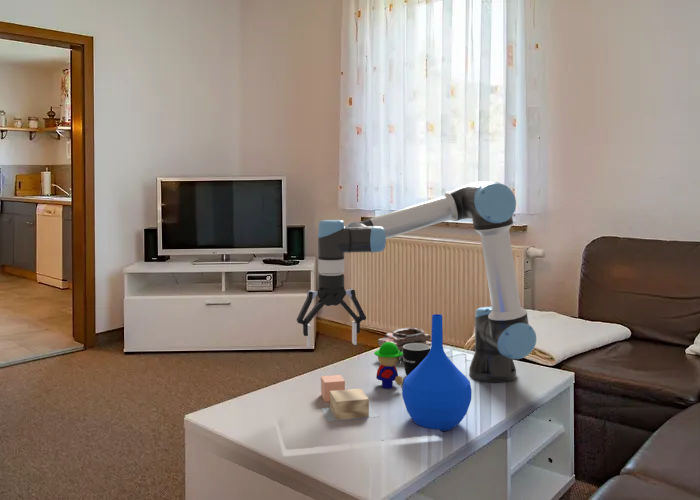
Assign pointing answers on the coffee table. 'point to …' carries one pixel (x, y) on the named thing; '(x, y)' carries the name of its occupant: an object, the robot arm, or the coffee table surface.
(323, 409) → the board
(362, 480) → the coffee table surface
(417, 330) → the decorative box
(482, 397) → the coffee table surface
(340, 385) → the salmon pink block
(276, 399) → the coffee table surface
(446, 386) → the vase
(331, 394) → the oak brick
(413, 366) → the mug
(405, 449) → the coffee table surface
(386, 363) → the toy
